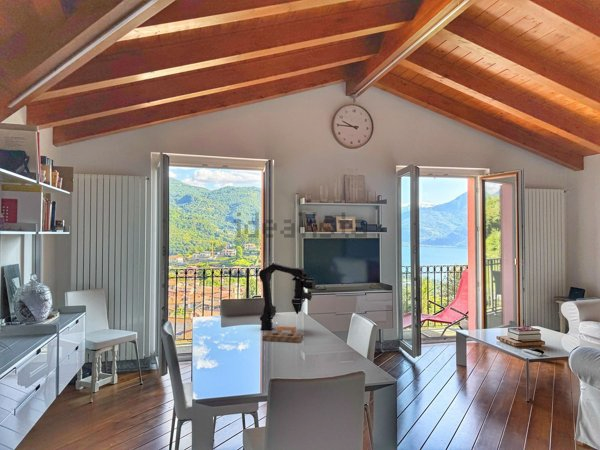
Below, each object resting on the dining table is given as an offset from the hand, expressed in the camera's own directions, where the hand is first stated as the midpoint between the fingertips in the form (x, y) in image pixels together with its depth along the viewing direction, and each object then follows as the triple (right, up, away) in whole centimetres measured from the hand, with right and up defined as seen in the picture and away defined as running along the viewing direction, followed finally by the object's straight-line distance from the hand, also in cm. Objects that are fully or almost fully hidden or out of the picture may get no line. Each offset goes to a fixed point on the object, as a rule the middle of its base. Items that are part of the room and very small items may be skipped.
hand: (298, 312), depth 257 cm
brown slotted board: (-9, -12, -19) cm, 24 cm away
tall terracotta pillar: (-8, -13, -6) cm, 16 cm away
